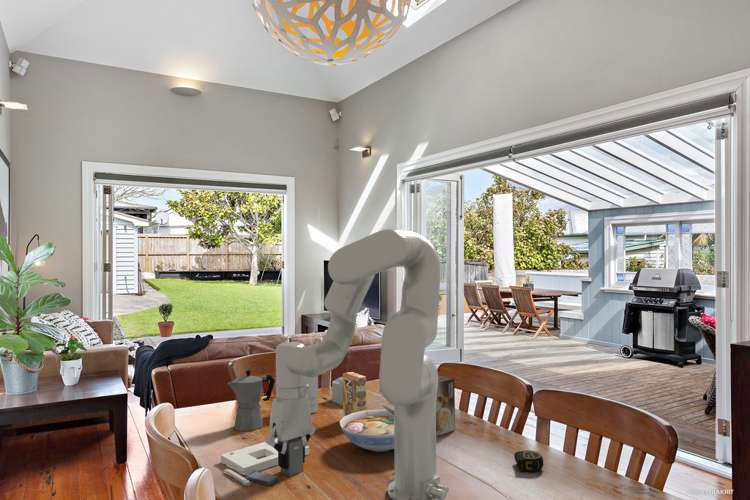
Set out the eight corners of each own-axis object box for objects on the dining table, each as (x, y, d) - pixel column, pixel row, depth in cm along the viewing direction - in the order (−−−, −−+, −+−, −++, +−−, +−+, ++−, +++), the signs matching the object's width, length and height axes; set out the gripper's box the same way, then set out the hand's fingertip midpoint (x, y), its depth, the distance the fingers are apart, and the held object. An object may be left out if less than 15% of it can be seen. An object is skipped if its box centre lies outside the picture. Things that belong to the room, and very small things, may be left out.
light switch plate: (309, 454, 142) (309, 446, 142) (244, 476, 129) (244, 467, 129) (284, 442, 151) (284, 435, 151) (220, 462, 137) (220, 454, 137)
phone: (279, 479, 126) (279, 476, 126) (269, 485, 123) (269, 482, 123) (254, 474, 130) (254, 470, 130) (244, 480, 126) (244, 476, 126)
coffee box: (440, 425, 165) (440, 374, 165) (456, 430, 160) (455, 378, 160) (419, 431, 159) (419, 379, 160) (435, 437, 154) (434, 383, 155)
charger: (303, 471, 131) (302, 439, 131) (289, 476, 128) (289, 443, 128) (293, 467, 134) (293, 435, 134) (280, 471, 131) (280, 439, 131)
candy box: (367, 424, 167) (367, 376, 167) (356, 426, 165) (355, 378, 165) (353, 417, 175) (352, 371, 175) (342, 419, 172) (341, 373, 172)
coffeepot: (232, 435, 158) (231, 375, 158) (223, 426, 166) (223, 369, 166) (280, 426, 166) (279, 369, 166) (270, 418, 174) (269, 364, 174)
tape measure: (514, 463, 136) (513, 448, 136) (541, 464, 134) (541, 449, 134) (516, 473, 129) (516, 458, 129) (545, 475, 128) (545, 460, 128)
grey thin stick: (250, 484, 124) (250, 481, 124) (245, 486, 123) (245, 482, 123) (228, 471, 131) (228, 467, 131) (223, 472, 131) (223, 469, 131)
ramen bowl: (328, 438, 155) (328, 410, 155) (399, 428, 163) (399, 402, 163) (355, 470, 131) (355, 438, 131) (436, 457, 139) (436, 426, 139)
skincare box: (293, 408, 184) (293, 364, 185) (311, 406, 187) (311, 363, 187) (300, 415, 177) (300, 369, 177) (319, 412, 180) (318, 367, 180)
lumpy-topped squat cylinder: (346, 395, 202) (346, 372, 202) (373, 400, 194) (373, 377, 194) (328, 401, 194) (328, 378, 194) (356, 407, 186) (355, 383, 186)
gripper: (309, 383, 140) (309, 451, 140) (253, 395, 128) (254, 470, 128) (326, 388, 134) (327, 459, 134) (270, 401, 123) (271, 479, 123)
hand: (291, 464), depth 131 cm, fingers open, 4 cm apart
